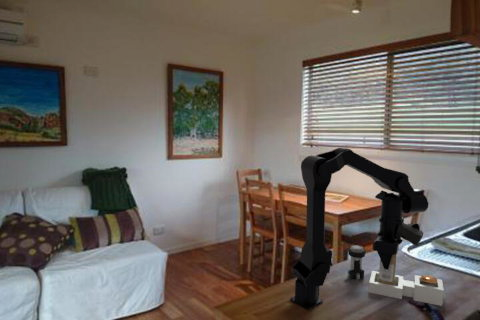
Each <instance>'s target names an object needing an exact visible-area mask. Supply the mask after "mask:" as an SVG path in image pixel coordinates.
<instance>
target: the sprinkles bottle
mask: <svg viewBox="0 0 480 320" xmlns="http://www.w3.org/2000/svg"><path fill="white" fill-rule="evenodd" d="M396 267H397V254H393V255H392V259H391V262H390V266H389V269H388V270H387V269H384V267H383V264H382V262H381V259H380V258H379V268H378V269H379V271H378V272H379V283H384V284H389V285H394V281H395V275H396Z"/></svg>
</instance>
